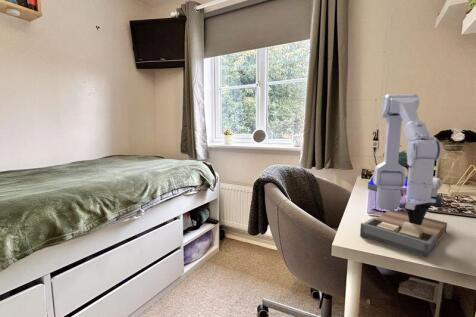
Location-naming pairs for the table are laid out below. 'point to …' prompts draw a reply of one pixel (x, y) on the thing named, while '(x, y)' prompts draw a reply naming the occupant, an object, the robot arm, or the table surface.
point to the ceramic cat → (402, 159)
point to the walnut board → (400, 217)
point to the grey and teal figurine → (435, 187)
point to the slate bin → (398, 239)
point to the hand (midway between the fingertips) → (415, 227)
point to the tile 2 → (412, 230)
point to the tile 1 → (388, 227)
